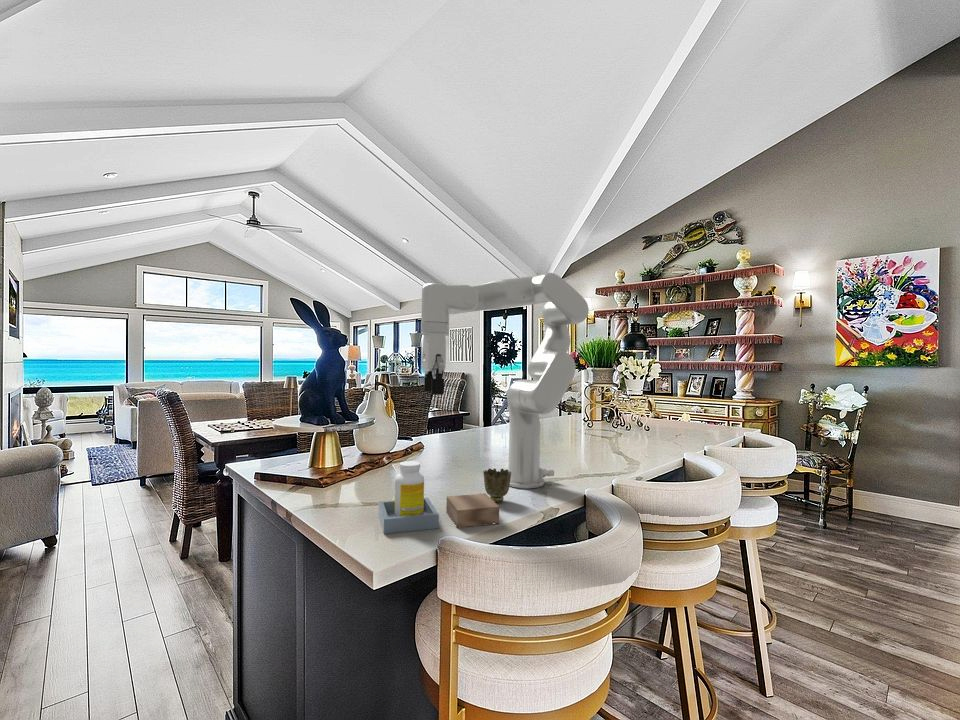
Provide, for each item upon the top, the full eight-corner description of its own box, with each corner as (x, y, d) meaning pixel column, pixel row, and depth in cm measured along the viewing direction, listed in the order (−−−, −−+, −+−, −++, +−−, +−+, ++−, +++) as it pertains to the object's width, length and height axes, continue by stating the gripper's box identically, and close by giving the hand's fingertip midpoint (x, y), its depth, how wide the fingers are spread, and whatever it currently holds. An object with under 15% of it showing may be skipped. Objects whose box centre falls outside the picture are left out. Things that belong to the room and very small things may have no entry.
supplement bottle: (429, 519, 102) (430, 463, 102) (404, 526, 98) (405, 468, 97) (412, 511, 107) (413, 458, 107) (388, 517, 102) (389, 462, 102)
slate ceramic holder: (427, 510, 110) (428, 497, 110) (438, 528, 99) (438, 514, 99) (378, 514, 106) (378, 501, 106) (383, 533, 95) (384, 519, 95)
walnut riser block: (484, 509, 111) (485, 493, 111) (498, 523, 102) (499, 506, 102) (446, 512, 108) (446, 496, 108) (457, 528, 99) (457, 510, 99)
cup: (480, 505, 115) (481, 474, 115) (484, 496, 122) (485, 467, 122) (509, 507, 114) (510, 475, 114) (511, 497, 121) (512, 468, 121)
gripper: (415, 330, 127) (414, 390, 127) (427, 327, 111) (426, 395, 111) (441, 331, 129) (439, 390, 130) (456, 328, 113) (455, 395, 113)
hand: (433, 392), depth 120 cm, fingers open, 9 cm apart
